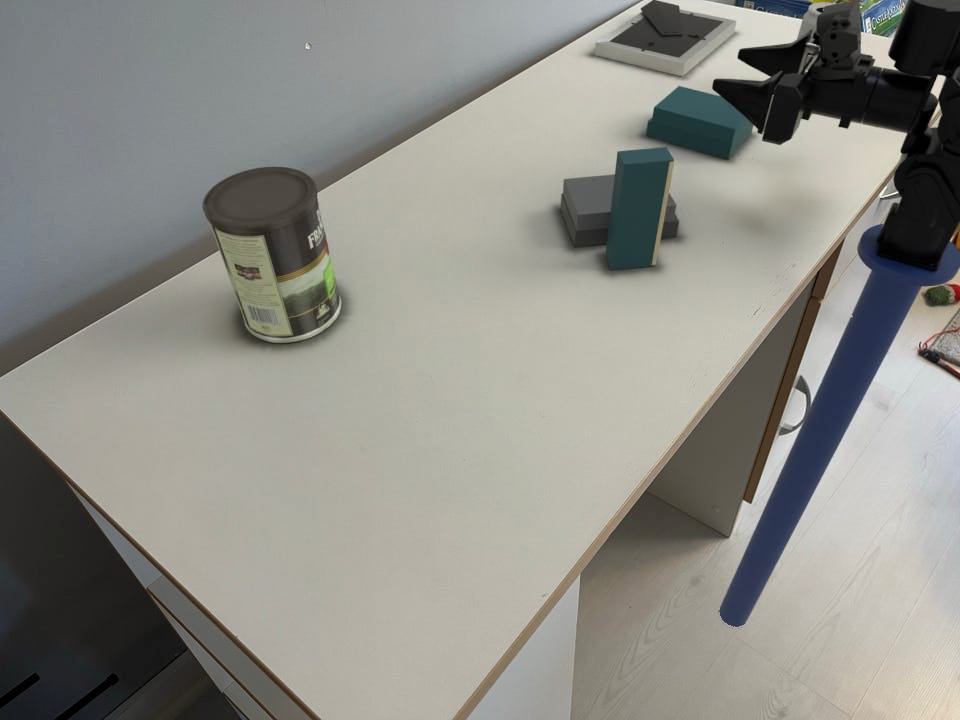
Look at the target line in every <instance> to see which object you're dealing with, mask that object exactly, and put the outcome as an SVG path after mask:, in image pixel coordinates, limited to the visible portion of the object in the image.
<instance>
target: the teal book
mask: <svg viewBox="0 0 960 720" xmlns="http://www.w3.org/2000/svg"><path fill="white" fill-rule="evenodd" d="M673 157H674V156H673V155H672V154H671V152H670V150H669V149H668V148H667V146H662V147H660V146H659V147H651V148H649V147H648V148H640V149H639V148H638V149H628V150H627V149H626V150H617V151H616V162H615V169H614V174H615V177H614V186H613V194H612V203H611V211H610V220H609V228H608V237H607V244H605V245H606V246H605V255H604V257H605V259H606V262H607V264H608V267H609V270H610V271H618V270H619V271H620V270H628V269H639V268H648V267H655V266H656V265H657V261H658V255H659V251H660V244H661V234H662V228H663V223H664V217H665V211H666V206H667V200H668V195H669V193H670V189H671V184H672V178H673V172H674V167H675V159H674V158H673Z"/></svg>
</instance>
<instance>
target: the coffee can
mask: <svg viewBox="0 0 960 720" xmlns="http://www.w3.org/2000/svg"><path fill="white" fill-rule="evenodd" d="M201 205H202V211H203V213H204V216H205V218H206V220H207V221H208V223H209V225H210V228H211V231H212V234H213V236H214V239H215V242H216V245H217V248H218V251H219V253H220V256H221V258H222V259H221V260H222V261H223V265H224V269H225V270H226V272H227V276H228V279H229V281H230V284H231V287H232V289H233V292H234V295H235V298H236V300H237V303H238V306H239V309H240V312H241V315H242V318H243V323H244V325H245V328H246V329H247V331H248V332H249V333H250V334H251V335H252V336H254V337H256V338H257V339H258V340H263V341H265V342H269V343H275V344H276V343H277V344H287V343H296V342H299V341H304V340H308V339H310V338H312V337H315V336H317V335H319V334H321V333H322V332H324V331H325V330H326V329H328V328H329V327H331V326H332V324H333V323H334V322H335V321H336V320H337V318H338V317H339V315H340V312H341V311H342V310H341V309H342V299H341V296H340V293H339V289H338V284H337V279H336V275H335V271H334V266H333V262H332V258H331V253H330V248H329V244H328V243H329V242H328V240H327V235H326V231H325V225H324V222H323V218H322V212H321V208H320V204H319V200H318V189H317V184H316V182H315V180H314V179H313V177H311V176H310V175H309V174H307V173H306V172H304V171H302V170H300V169H296V168H292V167H287V166H286V167H285V166H263V167H262V166H261V167H255V168H251V169H246V170H243V171H240V172H236V173H235V174H232V175H229V176H227V177H226V178H224V179H222V180H220V181H218V182H217V183H216V184H215V185H213V186H212V187H211V188H210V189H209V190H208V191H207V192H206V194H205V196H204V198H203V200H202V204H201Z"/></svg>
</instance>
